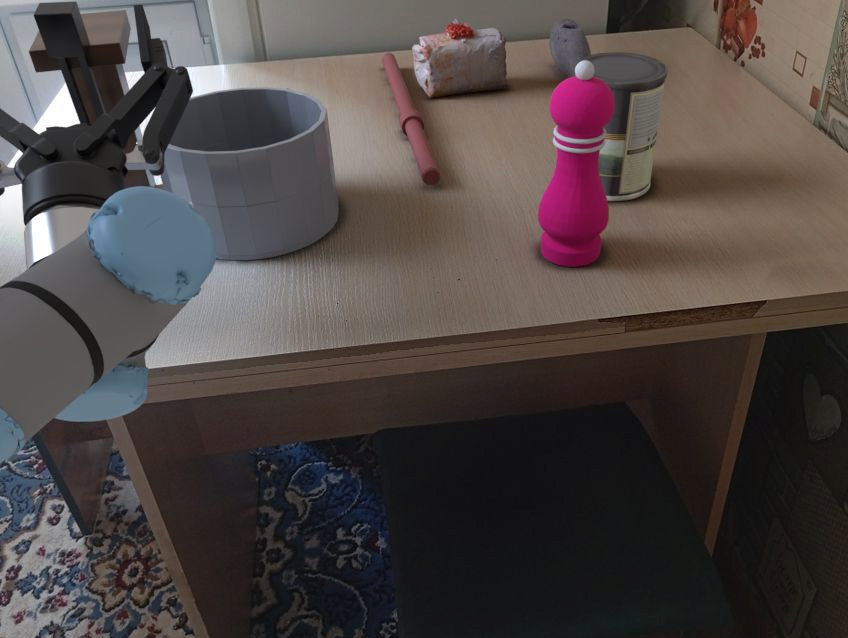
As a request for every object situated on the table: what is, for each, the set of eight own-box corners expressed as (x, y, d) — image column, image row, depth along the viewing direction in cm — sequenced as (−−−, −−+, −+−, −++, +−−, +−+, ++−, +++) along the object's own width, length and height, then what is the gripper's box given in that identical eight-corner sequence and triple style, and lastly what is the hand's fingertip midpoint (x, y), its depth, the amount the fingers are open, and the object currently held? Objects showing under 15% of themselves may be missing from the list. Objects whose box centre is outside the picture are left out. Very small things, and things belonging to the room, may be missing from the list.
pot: (157, 263, 83) (125, 156, 75) (197, 185, 97) (174, 89, 90) (330, 257, 83) (315, 150, 76) (345, 181, 97) (333, 85, 90)
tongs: (39, 2, 70) (32, 14, 69) (76, 1, 71) (71, 13, 69) (94, 157, 82) (90, 171, 80) (126, 155, 82) (123, 169, 81)
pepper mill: (558, 228, 87) (570, 43, 75) (616, 247, 84) (639, 57, 72) (523, 256, 83) (530, 64, 70) (583, 277, 79) (602, 80, 67)
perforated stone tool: (597, 90, 121) (601, 43, 117) (564, 91, 121) (566, 45, 117) (576, 59, 133) (580, 16, 129) (546, 60, 133) (548, 17, 128)
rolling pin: (444, 187, 96) (443, 163, 94) (419, 190, 95) (417, 166, 93) (398, 68, 131) (397, 48, 129) (379, 69, 130) (378, 50, 128)
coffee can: (575, 204, 92) (584, 84, 83) (559, 166, 100) (566, 53, 91) (661, 199, 92) (680, 79, 84) (638, 162, 100) (653, 49, 92)
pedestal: (104, 199, 94) (44, 16, 82) (173, 190, 96) (125, 9, 83) (97, 248, 85) (28, 51, 72) (173, 237, 87) (119, 42, 74)
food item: (423, 102, 118) (420, 34, 112) (412, 84, 124) (408, 19, 118) (510, 92, 121) (511, 26, 115) (494, 75, 127) (495, 11, 121)
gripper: (-73, 276, 63) (-74, 69, 70) (246, 229, 68) (213, 41, 75) (-126, 225, 56) (-121, 2, 63) (233, 178, 61) (199, -23, 68)
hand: (61, 23), depth 69 cm, fingers open, 13 cm apart
